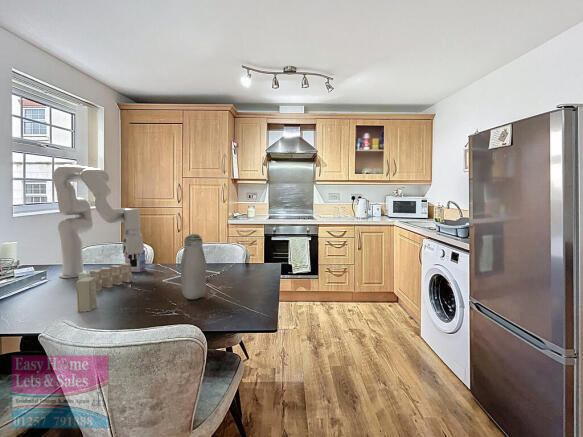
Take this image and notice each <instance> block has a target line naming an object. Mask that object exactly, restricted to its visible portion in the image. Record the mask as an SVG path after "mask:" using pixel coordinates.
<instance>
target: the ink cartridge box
mask: <svg viewBox="0 0 583 437" xmlns="http://www.w3.org/2000/svg"><path fill="white" fill-rule="evenodd" d="M124 263H128V264H130V259H129V258H128V257H124ZM145 271H146V249H144V251H143V252H142V254H140V255H139V256H138V259H137V267H131V273H132V272H133V273H135V272H136V273H140V272H145Z"/></svg>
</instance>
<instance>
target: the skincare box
mask: <svg viewBox="0 0 583 437" xmlns="http://www.w3.org/2000/svg"><path fill="white" fill-rule="evenodd" d="M76 297H77V299H76V302H77V313H85V312H86V311H89V312H92V311H93V309H95V308H97V307H98V306H97V302H98V300H97V290H96V277H84V278H82V279H80V280H79V279H78V280H77V281H76ZM82 311H83V312H82ZM86 313H87V312H86Z"/></svg>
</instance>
